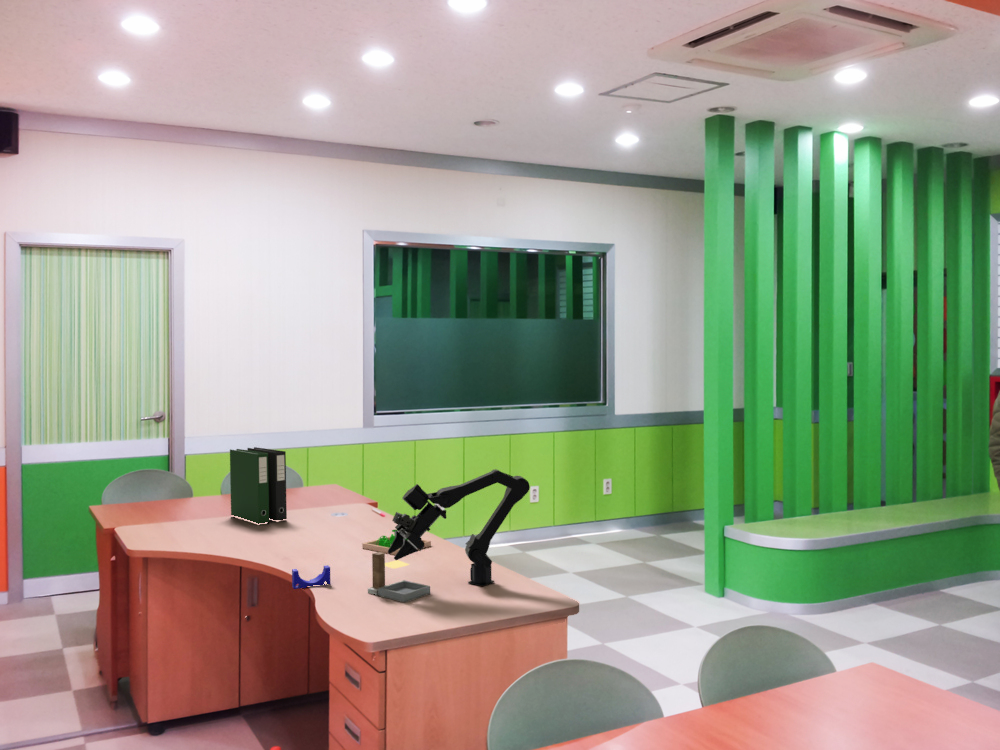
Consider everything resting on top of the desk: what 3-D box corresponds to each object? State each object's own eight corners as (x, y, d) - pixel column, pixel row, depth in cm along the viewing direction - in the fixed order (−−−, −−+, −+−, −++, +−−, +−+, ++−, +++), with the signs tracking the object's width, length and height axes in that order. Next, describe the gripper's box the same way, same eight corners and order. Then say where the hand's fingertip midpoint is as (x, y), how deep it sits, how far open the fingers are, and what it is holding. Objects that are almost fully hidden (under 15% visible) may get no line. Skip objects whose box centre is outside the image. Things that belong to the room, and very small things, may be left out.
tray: (430, 593, 271) (430, 586, 271) (404, 602, 262) (404, 594, 262) (404, 587, 278) (404, 580, 278) (378, 596, 269) (378, 588, 269)
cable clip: (327, 581, 287) (327, 564, 287) (330, 585, 283) (330, 567, 282) (291, 586, 282) (291, 568, 282) (293, 589, 278) (293, 571, 278)
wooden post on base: (381, 588, 277) (380, 550, 277) (390, 590, 275) (389, 552, 274) (367, 593, 272) (367, 554, 272) (376, 595, 270) (375, 556, 269)
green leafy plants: (421, 545, 339) (421, 528, 339) (400, 553, 326) (399, 535, 326) (390, 541, 346) (390, 524, 346) (368, 549, 333) (368, 532, 333)
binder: (229, 517, 399) (228, 449, 398) (258, 513, 410) (257, 446, 409) (258, 525, 380) (257, 454, 379) (288, 520, 390) (286, 451, 390)
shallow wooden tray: (430, 545, 337) (430, 540, 337) (396, 555, 322) (396, 550, 322) (397, 539, 349) (397, 534, 349) (362, 548, 334) (362, 543, 334)
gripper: (401, 498, 285) (368, 534, 281) (414, 508, 267) (379, 546, 264) (424, 520, 287) (392, 555, 284) (438, 531, 270) (404, 569, 267)
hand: (391, 556), depth 275 cm, fingers open, 9 cm apart
